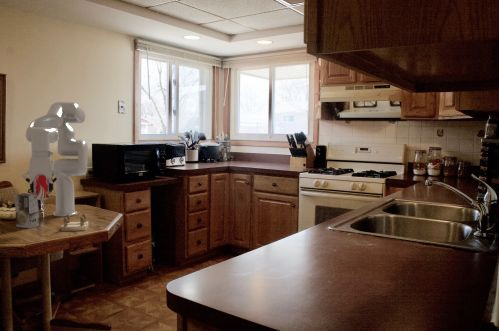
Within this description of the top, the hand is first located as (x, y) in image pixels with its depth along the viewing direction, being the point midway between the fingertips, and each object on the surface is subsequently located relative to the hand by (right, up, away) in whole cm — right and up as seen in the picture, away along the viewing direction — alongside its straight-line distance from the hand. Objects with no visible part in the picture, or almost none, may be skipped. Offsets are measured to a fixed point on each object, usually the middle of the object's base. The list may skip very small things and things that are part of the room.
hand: (42, 191), depth 198 cm
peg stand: (+13, -18, +8) cm, 23 cm away
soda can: (0, -4, 0) cm, 4 cm away
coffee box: (-12, -18, +10) cm, 24 cm away
